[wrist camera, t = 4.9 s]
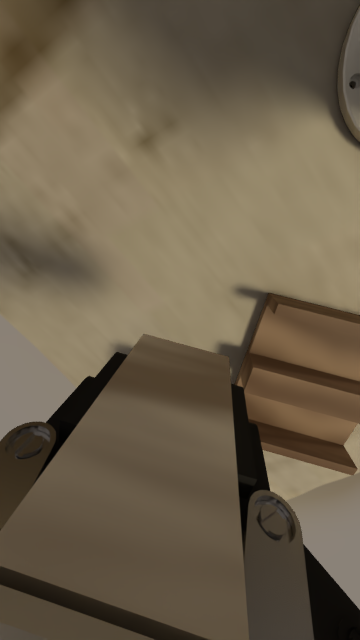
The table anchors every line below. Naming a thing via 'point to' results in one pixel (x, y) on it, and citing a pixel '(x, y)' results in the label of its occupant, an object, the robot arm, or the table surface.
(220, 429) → the birch block
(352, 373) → the slot rack
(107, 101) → the table surface
